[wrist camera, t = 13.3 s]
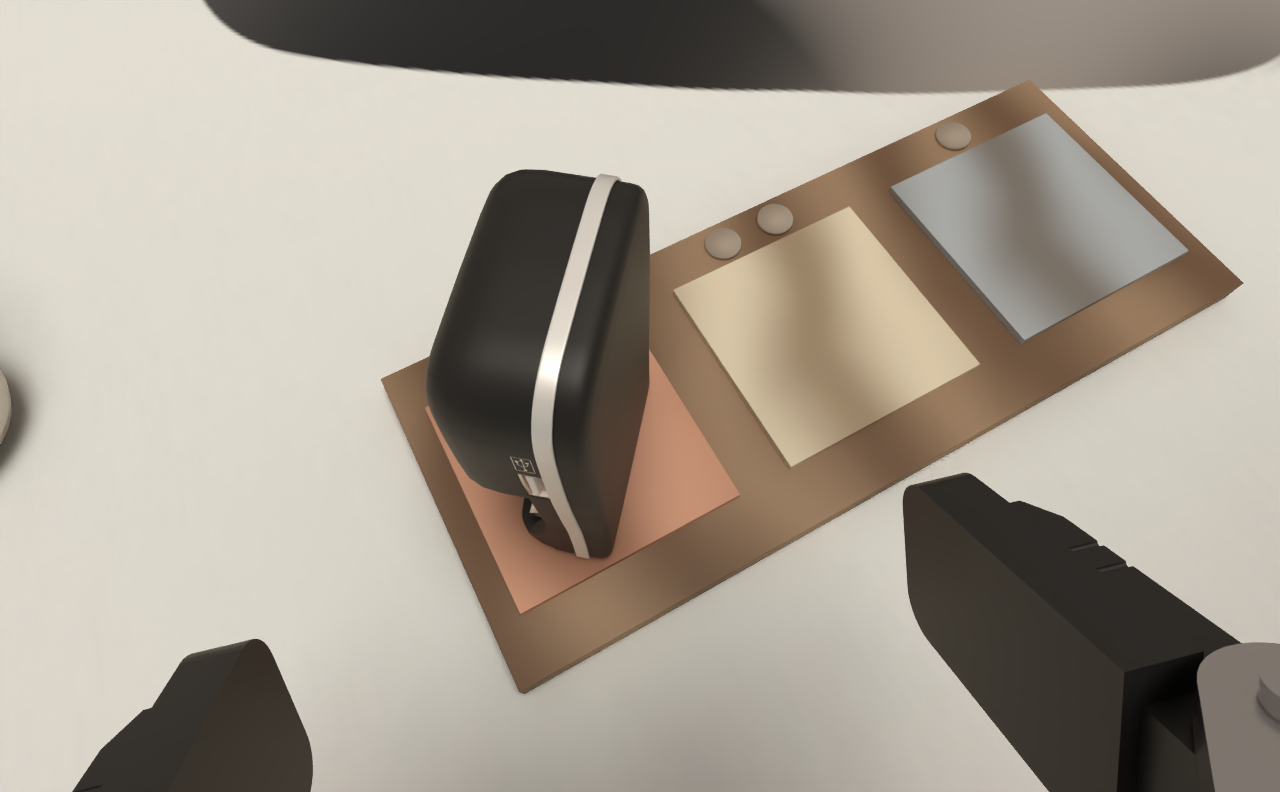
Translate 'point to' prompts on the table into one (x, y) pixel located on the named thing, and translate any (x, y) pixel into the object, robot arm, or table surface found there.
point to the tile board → (835, 361)
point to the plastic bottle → (4, 407)
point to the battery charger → (550, 352)
